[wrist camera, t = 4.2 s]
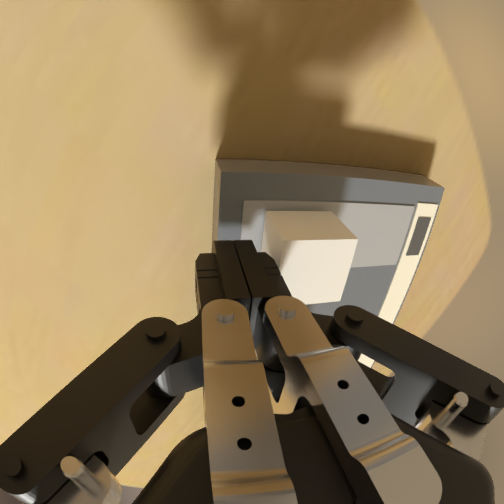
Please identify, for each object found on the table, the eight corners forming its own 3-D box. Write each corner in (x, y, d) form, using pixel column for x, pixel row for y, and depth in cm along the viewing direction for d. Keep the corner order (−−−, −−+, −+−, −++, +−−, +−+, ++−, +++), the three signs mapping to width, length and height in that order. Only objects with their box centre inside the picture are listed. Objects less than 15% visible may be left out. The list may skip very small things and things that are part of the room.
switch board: (215, 158, 14) (221, 173, 12) (422, 175, 17) (445, 188, 15) (211, 419, 25) (214, 439, 23) (336, 399, 28) (344, 417, 26)
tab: (265, 210, 13) (283, 240, 11) (331, 211, 14) (358, 238, 12) (258, 271, 15) (272, 307, 13) (318, 268, 15) (339, 301, 13)
